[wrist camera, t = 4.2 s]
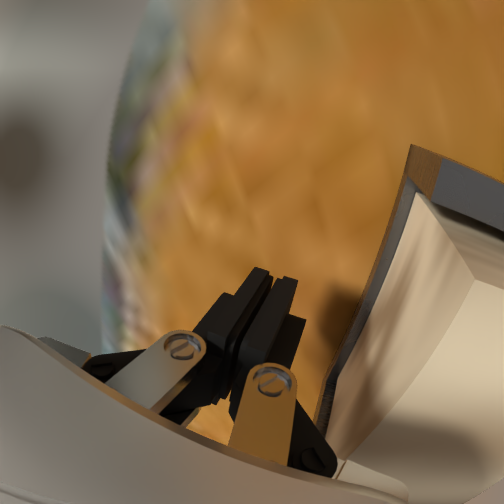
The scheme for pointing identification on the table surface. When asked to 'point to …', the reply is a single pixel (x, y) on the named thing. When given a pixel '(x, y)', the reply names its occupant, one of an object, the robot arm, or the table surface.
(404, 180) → the charcoal chute
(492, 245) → the maple block
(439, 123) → the table surface
